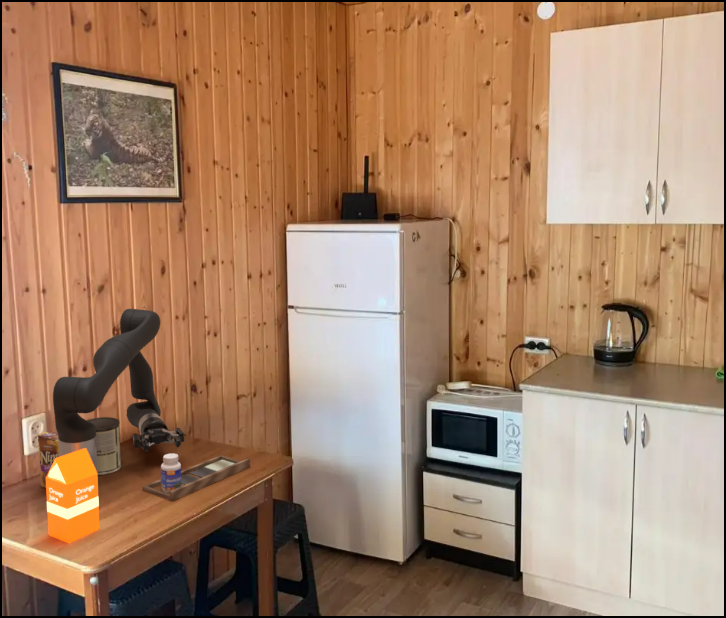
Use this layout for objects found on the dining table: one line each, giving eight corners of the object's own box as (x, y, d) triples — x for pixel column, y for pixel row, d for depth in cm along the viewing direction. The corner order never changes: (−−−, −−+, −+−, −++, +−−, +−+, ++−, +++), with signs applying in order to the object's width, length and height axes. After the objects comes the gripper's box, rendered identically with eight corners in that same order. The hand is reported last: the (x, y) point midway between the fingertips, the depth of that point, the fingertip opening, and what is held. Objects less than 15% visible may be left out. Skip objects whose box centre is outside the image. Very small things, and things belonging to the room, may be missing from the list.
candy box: (39, 487, 202) (36, 434, 199) (53, 482, 205) (50, 429, 203) (61, 494, 197) (58, 440, 195) (74, 489, 201) (72, 435, 198)
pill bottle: (166, 495, 198) (165, 461, 197) (157, 488, 202) (156, 455, 201) (185, 490, 202) (184, 456, 200) (175, 483, 206) (175, 450, 204)
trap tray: (172, 501, 195) (172, 492, 194) (142, 490, 201) (142, 481, 201) (249, 466, 219) (249, 459, 219) (221, 458, 226) (220, 450, 225)
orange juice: (48, 535, 175) (43, 455, 171) (79, 521, 182) (76, 444, 179) (69, 543, 171) (65, 462, 167) (100, 529, 178) (97, 450, 175)
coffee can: (78, 467, 216) (76, 421, 214) (112, 459, 223) (110, 414, 221) (92, 478, 209) (90, 430, 206) (127, 469, 215) (125, 423, 213)
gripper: (128, 419, 221) (137, 437, 207) (176, 413, 227) (187, 430, 213) (129, 443, 223) (138, 462, 208) (176, 436, 229) (188, 454, 215)
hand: (163, 446), depth 211 cm, fingers open, 8 cm apart
